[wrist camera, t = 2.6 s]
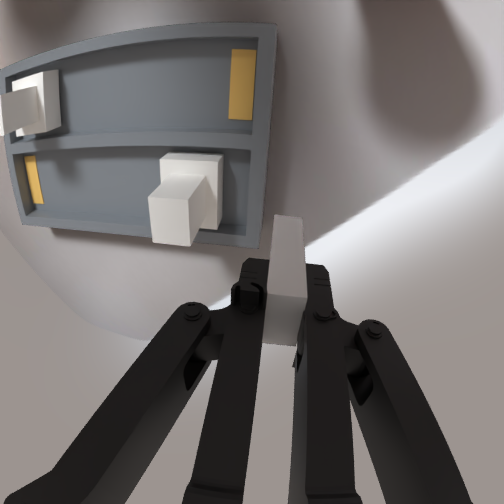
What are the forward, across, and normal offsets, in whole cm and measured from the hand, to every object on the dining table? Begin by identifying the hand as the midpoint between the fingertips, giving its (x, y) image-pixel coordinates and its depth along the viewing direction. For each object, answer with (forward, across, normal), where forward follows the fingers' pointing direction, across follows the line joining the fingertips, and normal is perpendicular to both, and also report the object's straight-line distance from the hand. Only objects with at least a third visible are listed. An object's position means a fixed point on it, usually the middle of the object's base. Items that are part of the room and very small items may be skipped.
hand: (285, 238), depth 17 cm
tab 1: (+6, -21, +8) cm, 23 cm away
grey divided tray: (+8, -14, +4) cm, 16 cm away
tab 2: (+6, -7, 0) cm, 9 cm away
